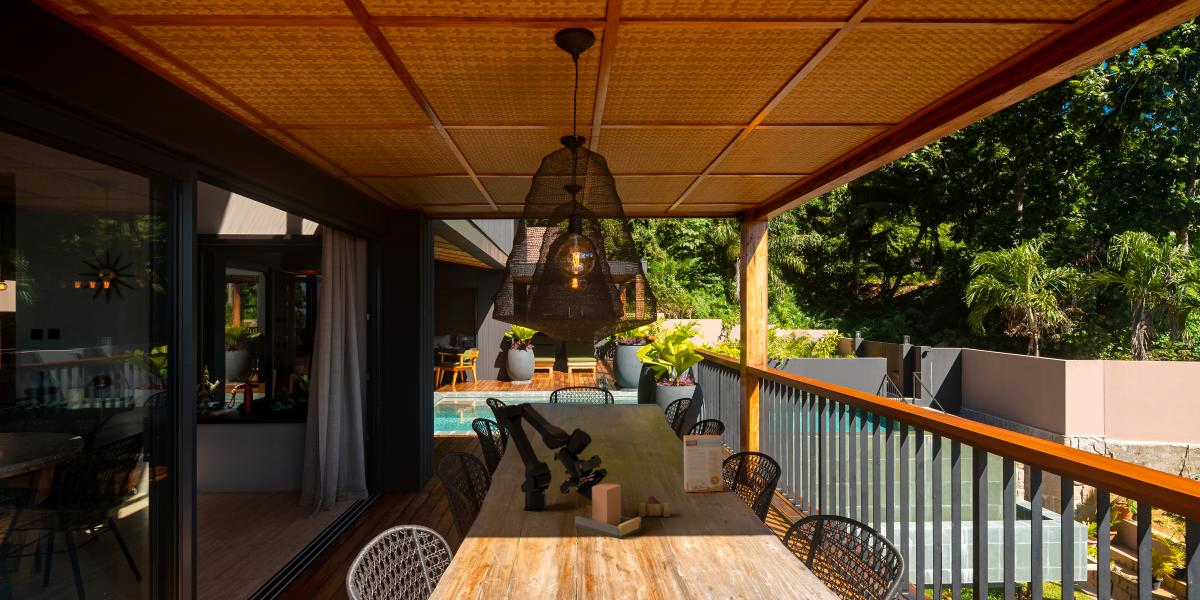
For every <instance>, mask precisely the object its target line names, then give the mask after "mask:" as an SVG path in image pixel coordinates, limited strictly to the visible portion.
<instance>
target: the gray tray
mask: <svg viewBox="0 0 1200 600" xmlns="http://www.w3.org/2000/svg"><path fill="white" fill-rule="evenodd" d="M574 527H576V528H580V529H582V530H583V529H584V530H587V531H590V532H594V533H597V534H601V535H604V536H605V535H606V536H608V537H612V538H616V539H618V540H619V539H620V540H623V539H625V538H627V537H629V536H632V535H634V534H636V533H638V532H640V531H642V517H640V516H636V517H634V518H632V517H629V516H624V515H621V523H620V524H618V525H616V526H613V525H610V524H606V523H602V522H598V521H595V520H592V516H590V517H588V518H586V517H583V516H579V515H576V516H574Z"/></svg>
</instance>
